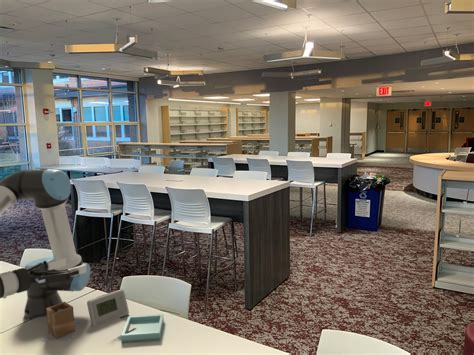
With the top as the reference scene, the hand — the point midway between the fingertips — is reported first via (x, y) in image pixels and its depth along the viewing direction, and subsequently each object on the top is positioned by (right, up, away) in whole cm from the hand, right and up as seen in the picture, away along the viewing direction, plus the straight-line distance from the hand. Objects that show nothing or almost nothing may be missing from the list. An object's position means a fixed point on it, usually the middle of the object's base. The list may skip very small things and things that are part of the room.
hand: (75, 265), depth 139 cm
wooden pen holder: (-8, -27, +6) cm, 29 cm away
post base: (-8, -29, +7) cm, 31 cm away
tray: (+23, -28, +8) cm, 37 cm away
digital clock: (+7, -27, +18) cm, 33 cm away
